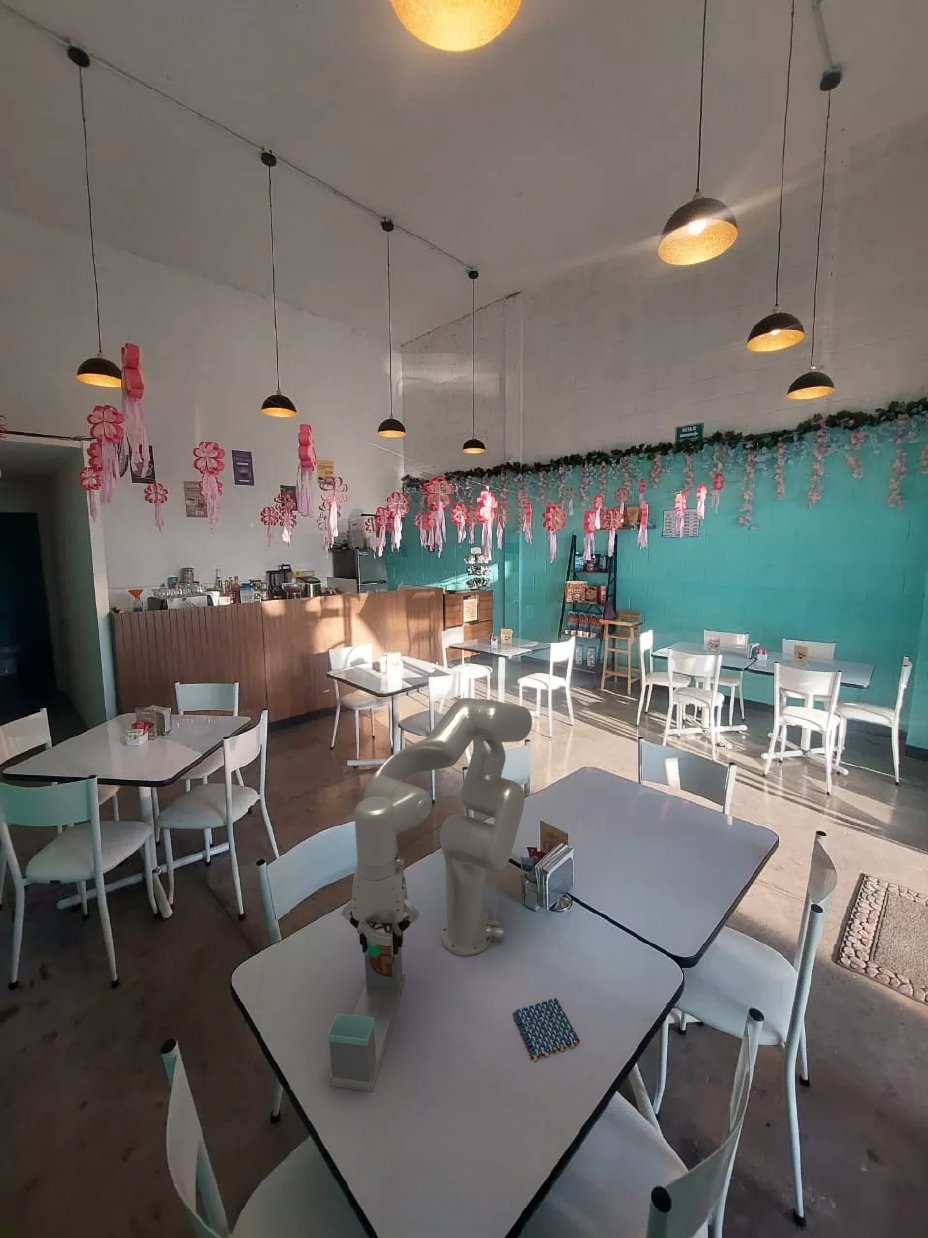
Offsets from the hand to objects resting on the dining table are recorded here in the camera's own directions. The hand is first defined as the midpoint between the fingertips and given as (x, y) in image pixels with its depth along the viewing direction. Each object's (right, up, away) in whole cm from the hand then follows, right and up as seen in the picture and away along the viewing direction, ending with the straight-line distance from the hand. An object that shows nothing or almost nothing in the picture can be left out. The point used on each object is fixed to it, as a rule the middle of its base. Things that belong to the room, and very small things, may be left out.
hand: (381, 947), depth 99 cm
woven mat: (+32, -19, +3) cm, 38 cm away
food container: (-1, -3, +1) cm, 3 cm away
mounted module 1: (-4, -19, -5) cm, 20 cm away
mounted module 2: (-1, -16, +13) cm, 20 cm away
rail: (-3, -19, +4) cm, 20 cm away
